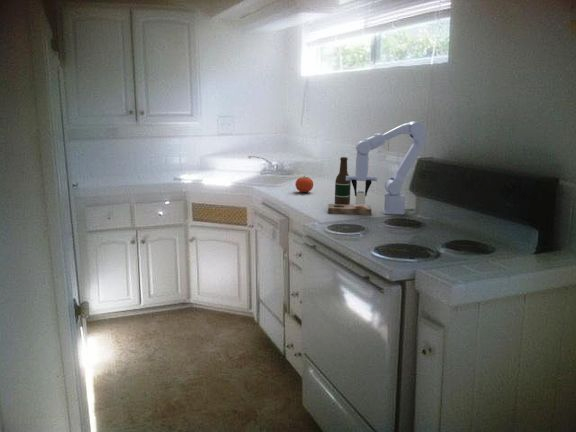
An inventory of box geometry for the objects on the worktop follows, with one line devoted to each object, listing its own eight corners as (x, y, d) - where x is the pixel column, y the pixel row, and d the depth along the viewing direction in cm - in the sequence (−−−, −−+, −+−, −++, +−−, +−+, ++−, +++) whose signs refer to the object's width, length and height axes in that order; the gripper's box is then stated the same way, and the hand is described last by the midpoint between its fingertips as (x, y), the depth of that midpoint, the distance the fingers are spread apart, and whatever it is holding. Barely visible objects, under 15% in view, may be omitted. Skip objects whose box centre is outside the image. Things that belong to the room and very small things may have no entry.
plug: (364, 202, 249) (364, 190, 247) (364, 204, 245) (365, 191, 243) (355, 202, 249) (356, 190, 248) (356, 204, 245) (356, 191, 244)
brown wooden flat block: (369, 210, 252) (369, 204, 252) (371, 214, 242) (371, 208, 242) (328, 209, 254) (328, 203, 253) (328, 213, 244) (328, 207, 243)
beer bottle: (341, 202, 271) (342, 156, 266) (352, 204, 266) (355, 157, 261) (331, 204, 266) (333, 157, 261) (343, 206, 261) (345, 158, 255)
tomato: (313, 194, 294) (313, 176, 291) (295, 194, 294) (295, 176, 292) (312, 191, 304) (313, 174, 301) (295, 190, 304) (295, 173, 302)
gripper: (346, 167, 240) (345, 196, 243) (378, 168, 239) (376, 197, 242) (346, 166, 247) (344, 194, 250) (377, 166, 246) (375, 195, 248)
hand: (360, 195), depth 246 cm, fingers closed on plug, 4 cm apart
